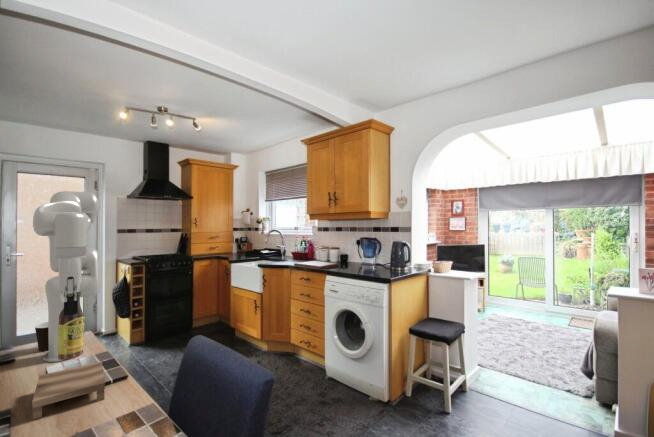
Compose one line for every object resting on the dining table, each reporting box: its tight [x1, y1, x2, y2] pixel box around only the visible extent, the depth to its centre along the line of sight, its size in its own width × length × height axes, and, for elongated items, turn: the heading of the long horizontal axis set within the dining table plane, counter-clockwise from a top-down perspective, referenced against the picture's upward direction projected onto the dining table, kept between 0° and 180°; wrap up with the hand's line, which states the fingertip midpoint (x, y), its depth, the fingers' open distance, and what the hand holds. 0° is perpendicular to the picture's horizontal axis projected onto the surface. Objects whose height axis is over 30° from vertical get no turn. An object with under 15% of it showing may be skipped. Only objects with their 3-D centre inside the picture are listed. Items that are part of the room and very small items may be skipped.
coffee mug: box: [34, 321, 49, 353], centre depth 133 cm, size 12×9×10 cm
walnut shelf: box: [31, 361, 106, 420], centre depth 97 cm, size 18×16×5 cm
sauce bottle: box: [57, 290, 85, 361], centre depth 97 cm, size 7×6×20 cm
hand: (71, 311), depth 97 cm, fingers closed on sauce bottle, 5 cm apart
